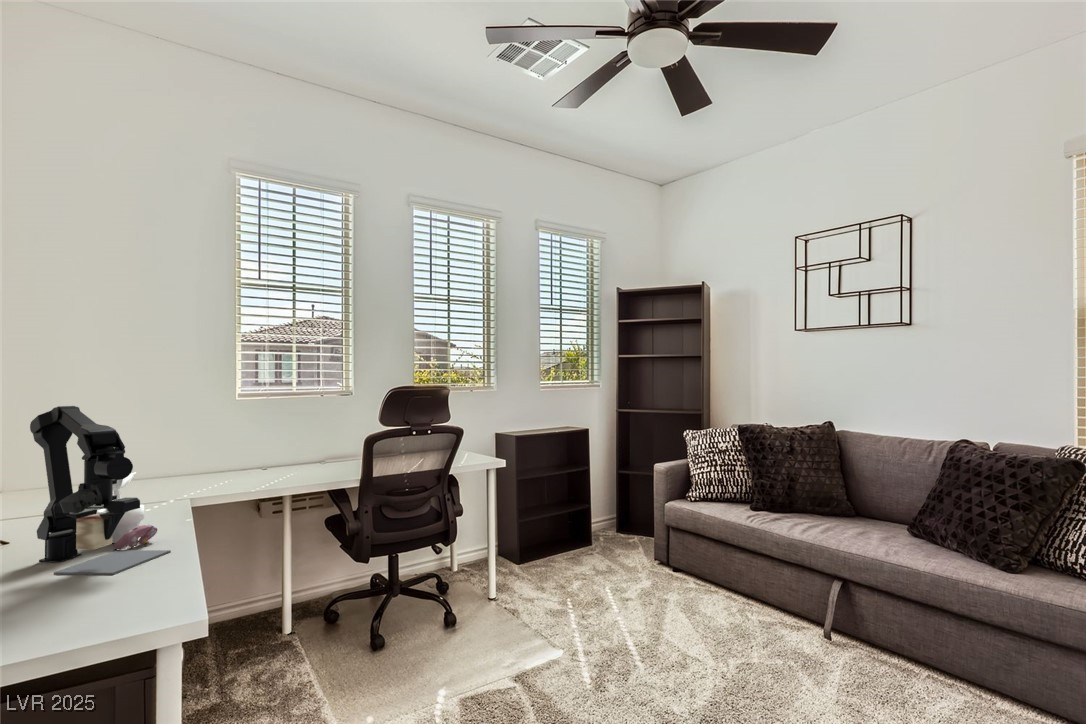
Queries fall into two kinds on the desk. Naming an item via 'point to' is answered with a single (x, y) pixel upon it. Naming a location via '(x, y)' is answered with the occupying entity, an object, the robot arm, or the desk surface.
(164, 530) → the desk surface
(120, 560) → the rubber mat
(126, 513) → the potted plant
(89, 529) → the tall block
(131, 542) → the video game controller
